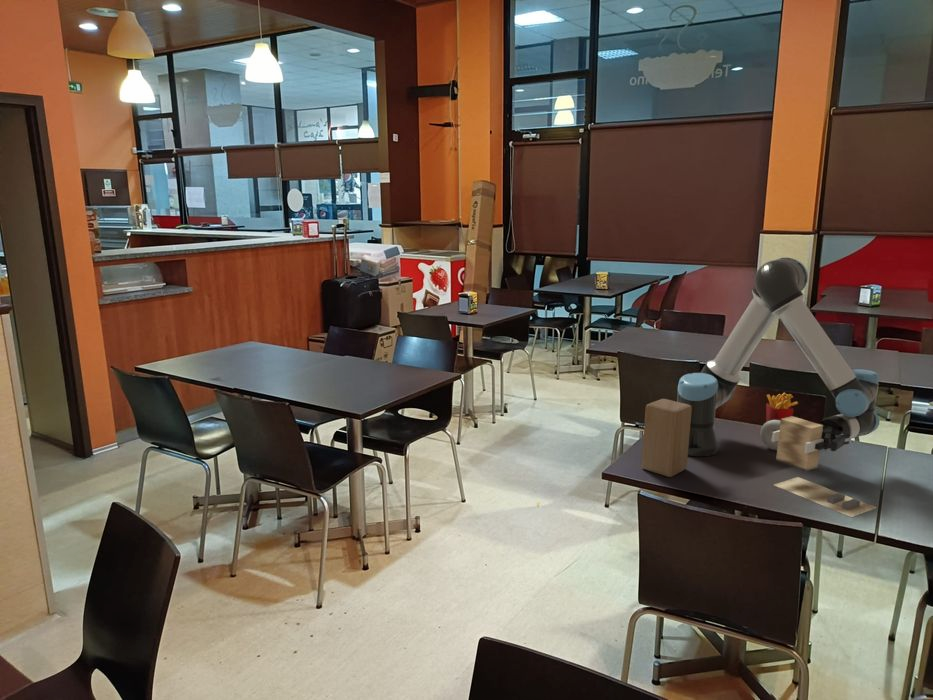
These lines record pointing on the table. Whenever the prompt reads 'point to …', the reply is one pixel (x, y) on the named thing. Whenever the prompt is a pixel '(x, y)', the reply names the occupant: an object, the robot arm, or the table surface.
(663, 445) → the block
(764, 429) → the donut
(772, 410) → the french fries
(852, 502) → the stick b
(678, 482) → the table surface
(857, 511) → the board
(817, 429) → the block
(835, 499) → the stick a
